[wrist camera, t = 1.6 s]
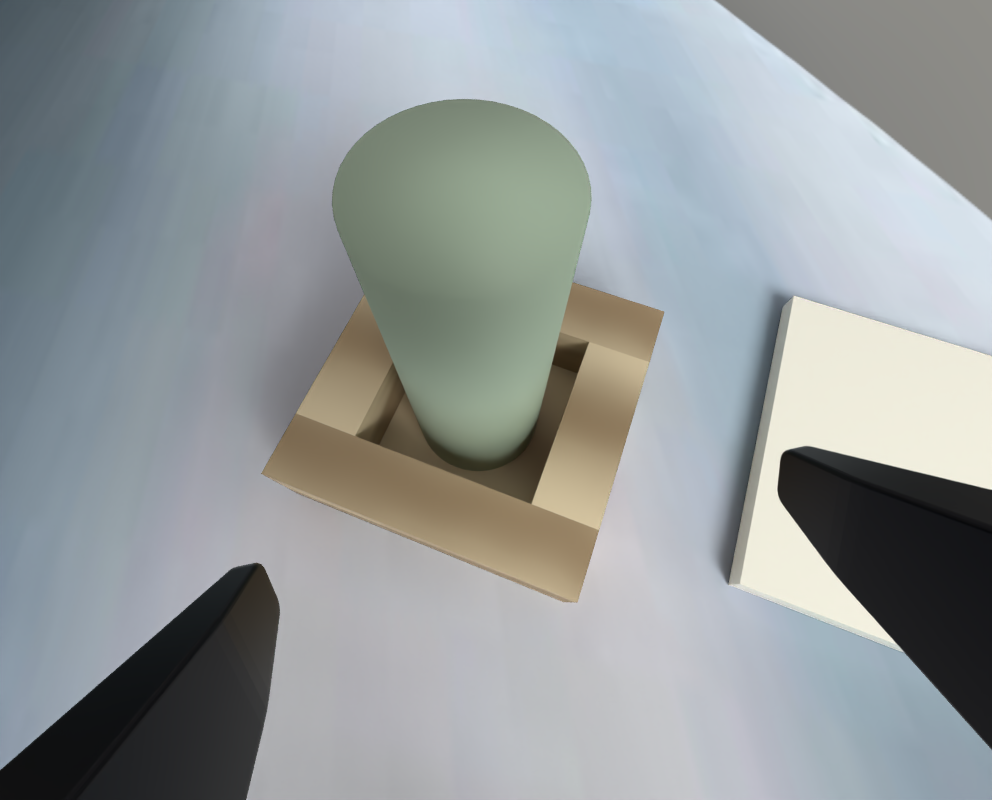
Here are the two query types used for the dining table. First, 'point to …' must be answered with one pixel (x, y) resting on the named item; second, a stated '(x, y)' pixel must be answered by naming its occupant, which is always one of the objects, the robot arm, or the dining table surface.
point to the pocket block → (479, 494)
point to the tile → (854, 439)
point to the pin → (466, 264)
